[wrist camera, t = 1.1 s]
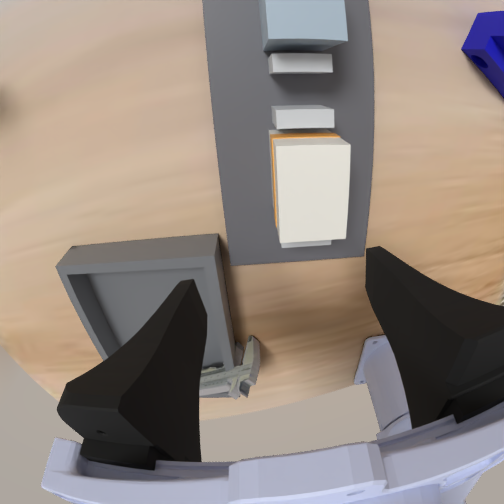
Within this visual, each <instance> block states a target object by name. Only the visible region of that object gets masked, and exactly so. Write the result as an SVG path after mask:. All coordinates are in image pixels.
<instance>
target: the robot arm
mask: <svg viewBox="0 0 504 504" xmlns="http://www.w3.org/2000/svg"><path fill="white" fill-rule="evenodd" d="M365 288H366V291H367V294H368V297H369V300H370V303H371V306H372V308H373V310H374V312H375V314H376V317H377V319H378V321H379V323H380V325H381V327H382V329H383V331H384V333H385V335H382V336H376V337H370V338H367V339H366V340H365V343H364V347H363V351H362V354H361V358H360V361H359V365H358V368H357V372H356V375H355V378H354V384H356V385H358V384H364V383H367V385H368V389H369V392H370V395H371V399H372V402H373V406H374V409H375V413H376V417H377V420H378V424H379V427H380V431H381V432H379V433H377V434H376V436H377V440H375V441H371V442H357V443H350V444H344V445H339V446H334V447H329V448H324V449H317V450H311V451H305V452H298V453H291V454H283V455H273V456H263V457H255V458H248V459H242V460H240V461H236V462H202V461H201V450H200V431H199V389H200V378H201V371H202V365H203V359H204V352H205V346H206V339H207V317H208V314H207V312H206V309H205V307H204V304H203V302H202V299H201V296H200V294H199V291H198V289H197V286H196V283H195V281H194V279H189V280H183V281H180V282H179V283H178V284H177V285H176V286H175V288H174V289H173V290H172V292H171V293H170V294H169V295H168V297H167V298H166V299H165V300H164V302H163V303H162V304H161V305H160V307H159V308H158V309H157V310H156V312H155V313H154V314H153V315H152V316H151V317H150V319H149V320H148V321H147V322H146V323H145V324H144V325H143V327H142V328H141V329H140V330H139V331H138V332H137V333H136V334H135V335H134V336H133V337H132V338H131V339H130V340H129V341H128V342H126V343H125V344H124V345H123V346H122V347H121V348H119V349H118V350H117V351H116V352H115V353H113V354H112V355H111V356H110V357H108V358H107V359H106V360H104V361H103V362H102V363H100V364H99V365H97V366H96V367H94V368H93V369H91V370H89V371H88V372H86V373H84V374H83V375H81V376H79V377H77V378H75V379H74V380H72V381H70V382H68V383H67V384H66V386H65V389H64V391H63V394H62V396H61V399H60V402H59V404H58V407H57V412H58V414H59V416H60V417H61V418H62V420H63V421H64V422H65V423H66V424H68V425H69V426H70V427H71V428H72V429H74V430H75V431H76V432H77V433H79V434H80V435H81V436H82V437H83V438H84V440H83V443H82V444H80V443H78V442H76V441H72V440H67V439H63V438H58V437H56V438H55V440H54V443H53V446H52V449H51V452H50V455H49V459H48V462H47V465H46V469H45V472H44V476H43V480H42V484H41V487H42V488H43V489H45V490H47V491H49V492H51V493H53V494H55V495H57V496H59V497H60V498H63V499H65V500H67V501H69V502H71V503H73V504H466V501H465V498H466V497H467V495H468V494H469V493H470V491H471V490H472V488H473V487H474V485H475V484H476V483H477V481H478V479H479V478H480V476H481V475H482V473H483V472H485V471H487V470H488V469H490V468H492V467H493V466H495V465H497V464H498V463H500V462H502V461H503V460H504V306H499V305H495V304H491V303H488V302H484V301H481V300H478V299H475V298H472V297H469V296H466V295H464V294H461V293H459V292H456V291H454V290H452V289H450V288H448V287H446V286H444V285H441V284H439V283H437V282H436V281H434V280H432V279H430V278H429V277H427V276H425V275H423V274H422V273H420V272H418V271H417V270H415V269H414V268H412V267H411V266H409V265H408V264H406V263H405V262H403V261H402V260H400V259H399V258H397V257H396V256H394V255H393V254H391V253H390V252H388V251H387V250H385V249H384V248H382V247H380V246H378V247H372V248H367V249H366V284H365Z"/></svg>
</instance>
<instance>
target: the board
mask: <svg viewBox="0 0 504 504" xmlns="http://www.w3.org/2000/svg"><path fill="white" fill-rule="evenodd" d="M202 2H203V14H204V26H205V38H206V50H207V61H208V71H209V82H210V92H211V102H212V111H213V121H214V130H215V140H216V149H217V158H218V166H219V175H220V184H221V192H222V200H223V209H224V217H225V225H226V233H227V240H228V248H229V256H230V263H231V266H235V265H250V264H265V263H279V262H294V261H307V260H321V259H334V258H348V257H361V256H364V250H365V243H366V234H367V225H368V216H369V206H370V194H371V181H372V166H373V144H374V69H373V49H372V34H371V22H370V12H369V3H368V0H344V3H345V12H346V23H347V35H348V41H346V42H344V43H341V44H338V45H336V46H333V47H331V48H328V49H326V50H323V51H312V50H278V51H263V43H262V31H261V20H260V9H259V0H202ZM282 129H327V130H329V131H330V132H332V133H336V134H337V135H339V136H340V138H341V139H343V140H344V141H346V142H347V143H349V144H350V145H351V151H350V181H349V200H348V216H347V229H346V239H335V240H320V241H304V242H289V243H280V241H279V235H278V230H277V227H276V224H275V219H274V208H273V197H272V177H271V159H270V142H269V130H282Z"/></svg>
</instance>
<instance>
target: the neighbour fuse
mask: <svg viewBox="0 0 504 504" xmlns="http://www.w3.org/2000/svg"><path fill="white" fill-rule="evenodd" d="M259 9H260V20H261V31H262V43H263V51H278V50H312V51H323V50H326V49H328V48H331V47H333V46H336V45H338V44H341V43H344V42H346V41H348V35H347V23H346V12H345V3H344V0H259Z"/></svg>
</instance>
